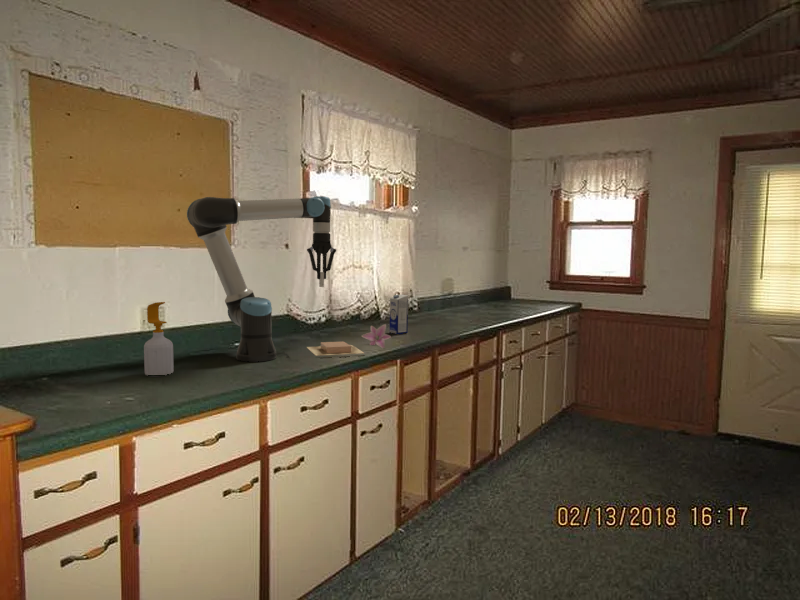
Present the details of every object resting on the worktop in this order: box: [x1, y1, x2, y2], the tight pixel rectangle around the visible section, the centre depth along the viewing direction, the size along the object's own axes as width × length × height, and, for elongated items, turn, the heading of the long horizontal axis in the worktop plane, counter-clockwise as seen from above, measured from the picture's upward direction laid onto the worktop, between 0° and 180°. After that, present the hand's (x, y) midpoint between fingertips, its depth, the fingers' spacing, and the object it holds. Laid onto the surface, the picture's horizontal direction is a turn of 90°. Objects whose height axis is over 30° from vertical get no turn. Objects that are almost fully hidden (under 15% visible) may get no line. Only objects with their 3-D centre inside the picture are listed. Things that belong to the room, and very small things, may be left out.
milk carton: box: [389, 294, 409, 335], centre depth 288 cm, size 7×7×20 cm
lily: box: [361, 323, 392, 349], centre depth 249 cm, size 12×12×10 cm
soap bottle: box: [143, 301, 175, 376], centre depth 190 cm, size 9×9×25 cm
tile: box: [320, 341, 351, 354], centre depth 231 cm, size 10×3×12 cm
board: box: [306, 344, 365, 359], centre depth 233 cm, size 20×20×1 cm
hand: (321, 286), depth 246 cm, fingers closed
